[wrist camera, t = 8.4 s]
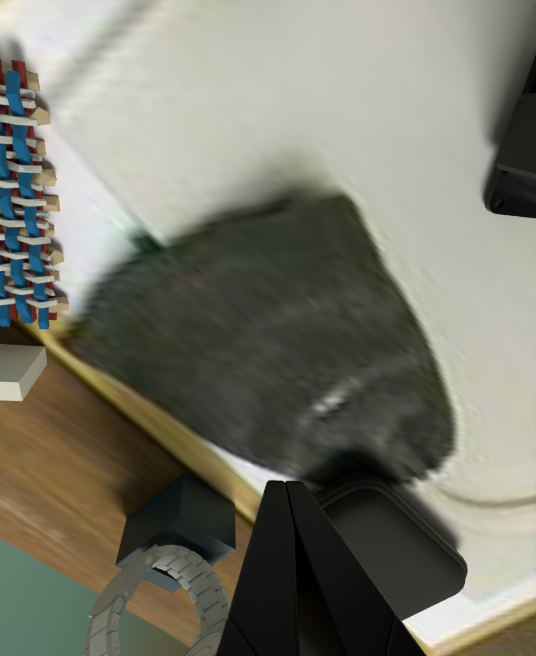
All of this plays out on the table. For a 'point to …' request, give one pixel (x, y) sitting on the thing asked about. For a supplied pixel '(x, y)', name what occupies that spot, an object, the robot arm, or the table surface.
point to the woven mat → (25, 206)
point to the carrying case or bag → (393, 543)
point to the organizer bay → (19, 369)
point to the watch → (170, 562)
